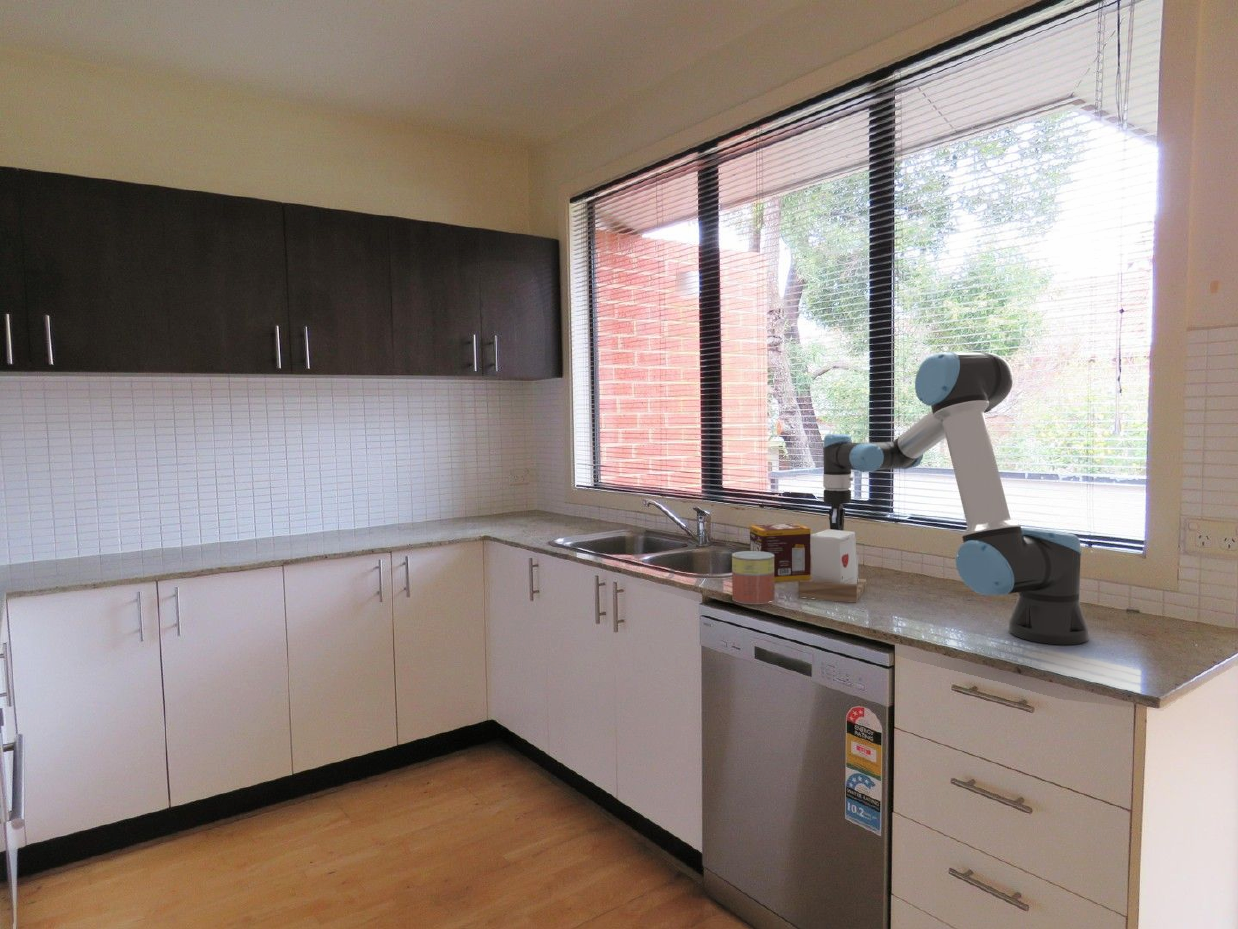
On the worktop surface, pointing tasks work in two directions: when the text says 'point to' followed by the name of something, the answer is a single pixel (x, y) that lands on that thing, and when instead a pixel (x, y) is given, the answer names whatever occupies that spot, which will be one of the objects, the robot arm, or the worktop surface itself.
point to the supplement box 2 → (834, 556)
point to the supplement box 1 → (784, 549)
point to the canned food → (753, 577)
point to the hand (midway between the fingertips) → (836, 571)
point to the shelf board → (831, 590)
